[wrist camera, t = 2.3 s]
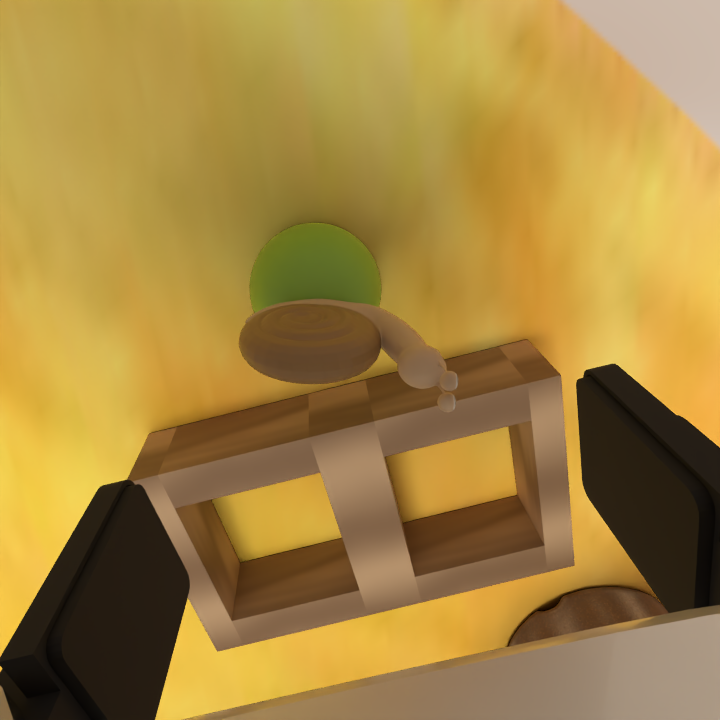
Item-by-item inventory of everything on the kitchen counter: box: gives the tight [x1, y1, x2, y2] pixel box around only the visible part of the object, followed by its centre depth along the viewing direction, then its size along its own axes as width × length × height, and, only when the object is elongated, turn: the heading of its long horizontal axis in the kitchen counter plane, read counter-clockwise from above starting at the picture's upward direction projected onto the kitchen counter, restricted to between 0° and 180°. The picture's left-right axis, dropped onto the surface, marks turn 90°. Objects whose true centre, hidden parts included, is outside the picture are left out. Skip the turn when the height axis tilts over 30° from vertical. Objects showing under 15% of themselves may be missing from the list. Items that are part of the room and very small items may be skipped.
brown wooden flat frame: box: [127, 340, 575, 652], centre depth 28 cm, size 12×20×4 cm, turn 103°
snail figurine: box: [239, 223, 458, 412], centre depth 19 cm, size 5×6×12 cm
